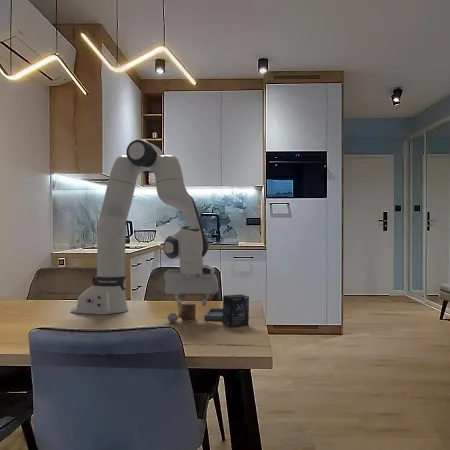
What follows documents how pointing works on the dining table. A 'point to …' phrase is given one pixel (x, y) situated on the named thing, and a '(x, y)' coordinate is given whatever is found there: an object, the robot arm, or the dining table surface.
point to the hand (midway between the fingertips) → (191, 305)
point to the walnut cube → (188, 311)
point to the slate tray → (214, 314)
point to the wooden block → (180, 309)
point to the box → (235, 310)
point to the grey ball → (172, 317)
